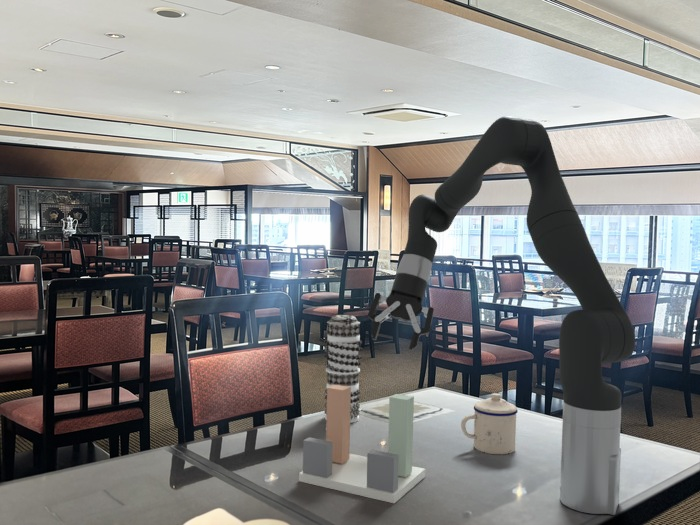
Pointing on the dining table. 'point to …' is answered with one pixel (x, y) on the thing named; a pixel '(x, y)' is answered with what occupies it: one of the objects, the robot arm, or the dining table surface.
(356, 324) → the decorative candle
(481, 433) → the teacup with lid
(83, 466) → the dining table surface
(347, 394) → the terracotta tab
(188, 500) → the dining table surface
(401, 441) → the sage tab
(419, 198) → the robot arm
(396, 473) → the twin block stand
